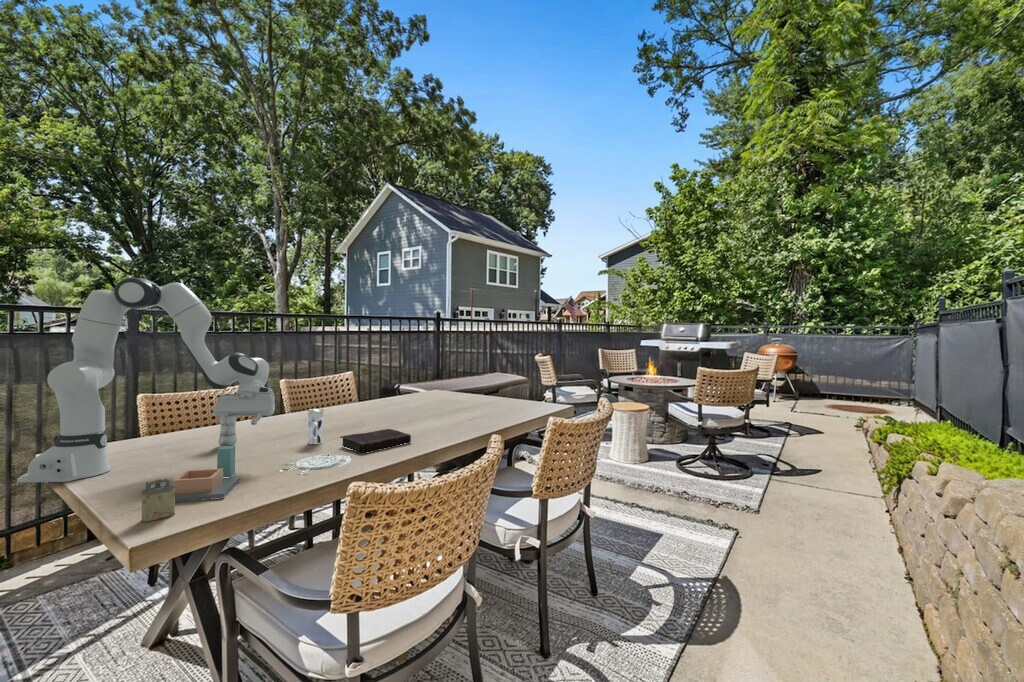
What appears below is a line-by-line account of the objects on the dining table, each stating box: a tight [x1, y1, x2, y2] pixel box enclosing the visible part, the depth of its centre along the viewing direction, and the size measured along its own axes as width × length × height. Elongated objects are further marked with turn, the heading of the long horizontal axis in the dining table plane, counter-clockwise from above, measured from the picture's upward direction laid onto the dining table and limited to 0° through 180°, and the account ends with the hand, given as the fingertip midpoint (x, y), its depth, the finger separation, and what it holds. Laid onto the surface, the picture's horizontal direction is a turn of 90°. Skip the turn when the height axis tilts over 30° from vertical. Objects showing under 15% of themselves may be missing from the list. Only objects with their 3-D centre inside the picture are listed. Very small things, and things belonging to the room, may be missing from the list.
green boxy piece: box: [140, 478, 176, 523], centre depth 118 cm, size 7×4×10 cm, turn 140°
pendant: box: [279, 454, 352, 476], centre depth 169 cm, size 21×28×1 cm
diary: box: [339, 428, 412, 455], centre depth 198 cm, size 19×25×5 cm
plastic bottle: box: [218, 416, 238, 447], centre depth 191 cm, size 6×7×20 cm
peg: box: [216, 445, 236, 477], centre depth 152 cm, size 4×4×10 cm
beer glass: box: [306, 408, 325, 445], centre depth 199 cm, size 7×7×15 cm
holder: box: [172, 468, 241, 503], centre depth 137 cm, size 18×16×6 cm
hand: (239, 424), depth 163 cm, fingers open, 8 cm apart
